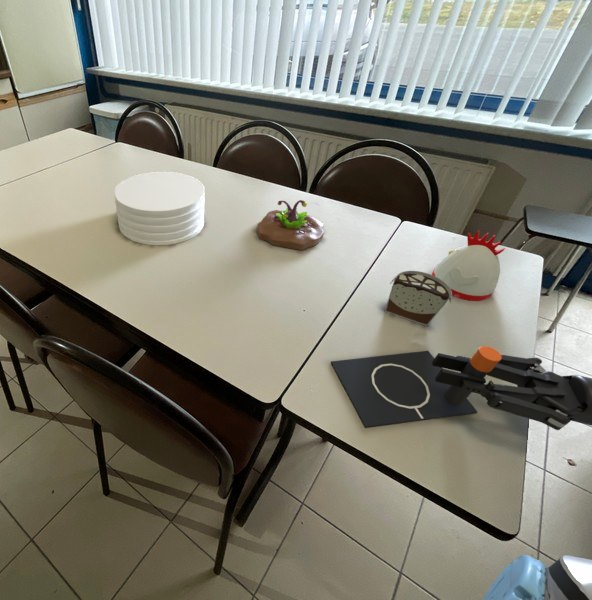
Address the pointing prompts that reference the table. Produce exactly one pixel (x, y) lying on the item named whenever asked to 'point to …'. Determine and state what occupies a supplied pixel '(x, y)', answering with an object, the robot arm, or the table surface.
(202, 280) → the table surface
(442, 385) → the desk mat
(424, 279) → the food container
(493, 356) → the marker
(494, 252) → the kitchen timer
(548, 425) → the robot arm
